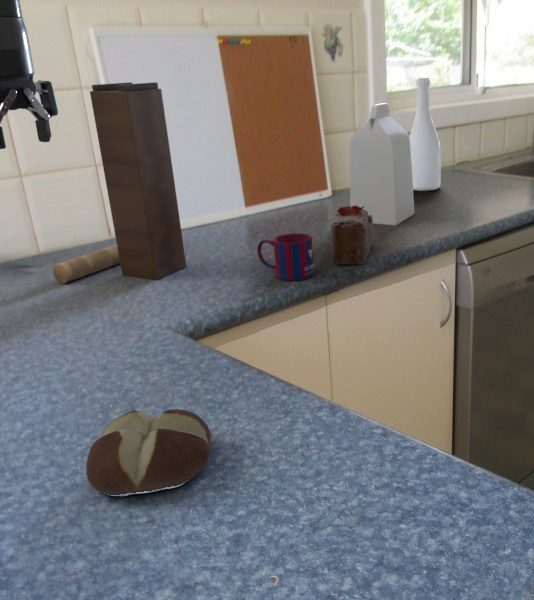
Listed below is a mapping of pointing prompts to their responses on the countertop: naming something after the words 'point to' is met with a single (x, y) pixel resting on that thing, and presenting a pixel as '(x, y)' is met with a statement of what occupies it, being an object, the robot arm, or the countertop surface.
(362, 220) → the food item
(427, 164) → the wine bottle
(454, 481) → the countertop surface
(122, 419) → the bread
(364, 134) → the milk
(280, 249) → the mug
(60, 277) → the rolling pin
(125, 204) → the stand
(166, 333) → the countertop surface
